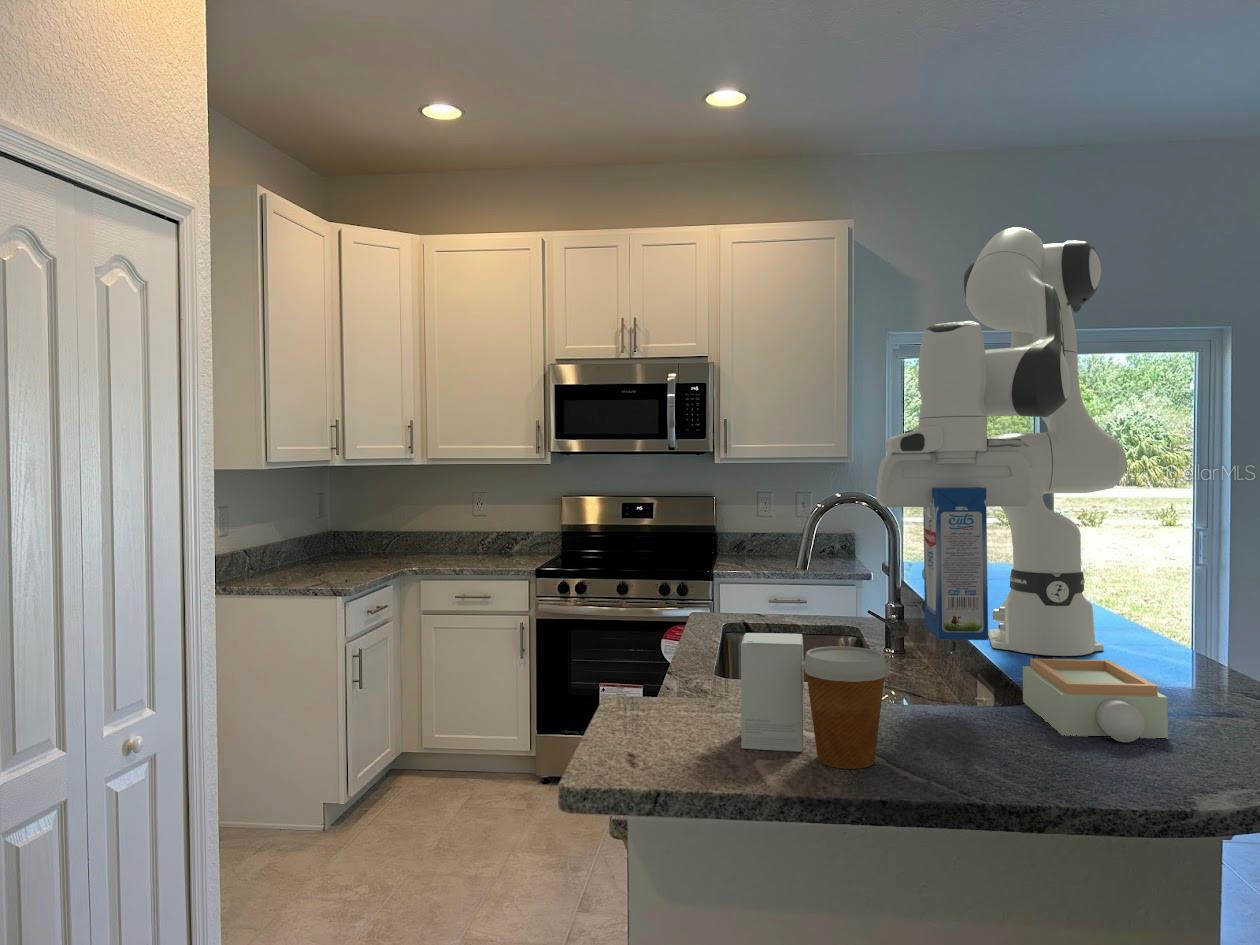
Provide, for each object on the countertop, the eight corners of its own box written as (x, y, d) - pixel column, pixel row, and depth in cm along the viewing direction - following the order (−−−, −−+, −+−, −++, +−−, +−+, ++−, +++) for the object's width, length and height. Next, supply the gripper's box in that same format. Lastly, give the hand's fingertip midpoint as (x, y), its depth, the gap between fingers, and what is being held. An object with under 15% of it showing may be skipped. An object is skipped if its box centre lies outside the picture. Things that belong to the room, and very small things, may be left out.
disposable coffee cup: (786, 761, 100) (785, 654, 100) (830, 741, 107) (829, 642, 107) (864, 780, 94) (862, 667, 94) (904, 758, 101) (903, 652, 101)
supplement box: (804, 753, 103) (803, 644, 103) (739, 749, 105) (738, 642, 105) (804, 734, 110) (803, 632, 110) (744, 731, 112) (743, 631, 112)
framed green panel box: (1023, 701, 124) (1022, 657, 124) (1114, 704, 123) (1113, 659, 123) (1070, 743, 106) (1070, 691, 106) (1179, 746, 104) (1179, 693, 104)
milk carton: (924, 626, 127) (922, 486, 127) (970, 626, 126) (968, 486, 126) (939, 639, 117) (937, 488, 117) (988, 640, 116) (986, 487, 116)
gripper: (1025, 438, 123) (1026, 537, 124) (874, 441, 126) (875, 538, 126) (1040, 437, 117) (1040, 542, 117) (880, 440, 120) (881, 542, 120)
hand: (953, 540), depth 122 cm, fingers closed on milk carton
